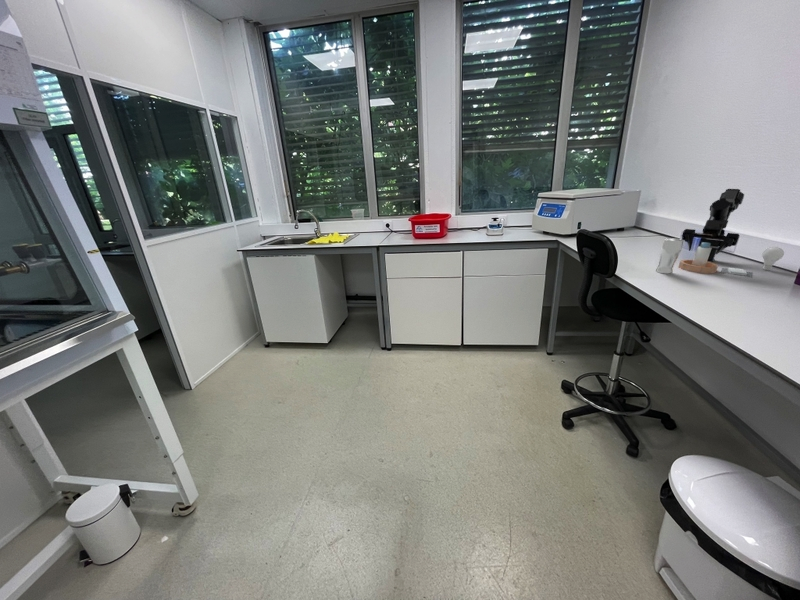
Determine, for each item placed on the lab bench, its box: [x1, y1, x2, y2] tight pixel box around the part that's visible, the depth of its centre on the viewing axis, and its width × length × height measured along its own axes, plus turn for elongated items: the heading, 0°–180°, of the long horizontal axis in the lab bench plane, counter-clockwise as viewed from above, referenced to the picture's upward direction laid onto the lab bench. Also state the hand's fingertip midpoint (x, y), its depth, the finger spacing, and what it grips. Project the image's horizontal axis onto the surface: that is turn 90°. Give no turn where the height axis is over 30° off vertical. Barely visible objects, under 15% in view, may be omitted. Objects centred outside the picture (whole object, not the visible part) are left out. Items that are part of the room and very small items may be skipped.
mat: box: [720, 267, 754, 278], centre depth 142 cm, size 10×10×1 cm
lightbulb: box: [761, 246, 785, 272], centre depth 143 cm, size 6×6×11 cm
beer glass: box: [655, 237, 685, 275], centre depth 143 cm, size 7×7×15 cm
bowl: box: [678, 259, 719, 274], centre depth 148 cm, size 13×13×3 cm
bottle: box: [691, 242, 712, 267], centre depth 146 cm, size 5×5×12 cm
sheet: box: [727, 267, 747, 276], centre depth 142 cm, size 7×5×1 cm
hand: (702, 252), depth 144 cm, fingers open, 9 cm apart
